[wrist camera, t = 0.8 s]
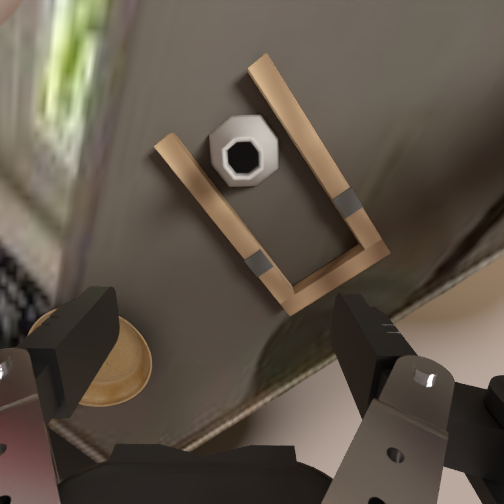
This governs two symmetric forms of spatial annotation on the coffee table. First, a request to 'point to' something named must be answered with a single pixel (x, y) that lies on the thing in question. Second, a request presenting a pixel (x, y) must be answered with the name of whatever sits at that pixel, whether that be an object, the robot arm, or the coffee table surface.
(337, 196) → the beam channel
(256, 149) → the flask
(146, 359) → the plant saucer
